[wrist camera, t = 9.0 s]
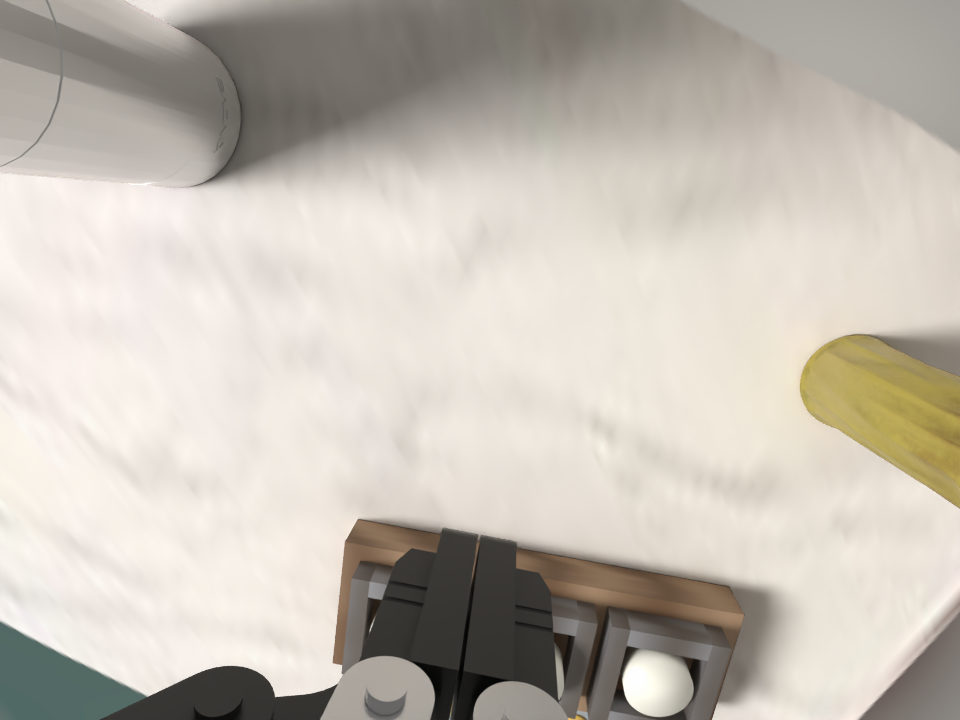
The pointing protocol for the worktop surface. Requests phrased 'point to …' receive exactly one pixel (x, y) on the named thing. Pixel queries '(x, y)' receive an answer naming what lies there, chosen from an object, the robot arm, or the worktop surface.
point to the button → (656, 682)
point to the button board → (571, 619)
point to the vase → (889, 407)
